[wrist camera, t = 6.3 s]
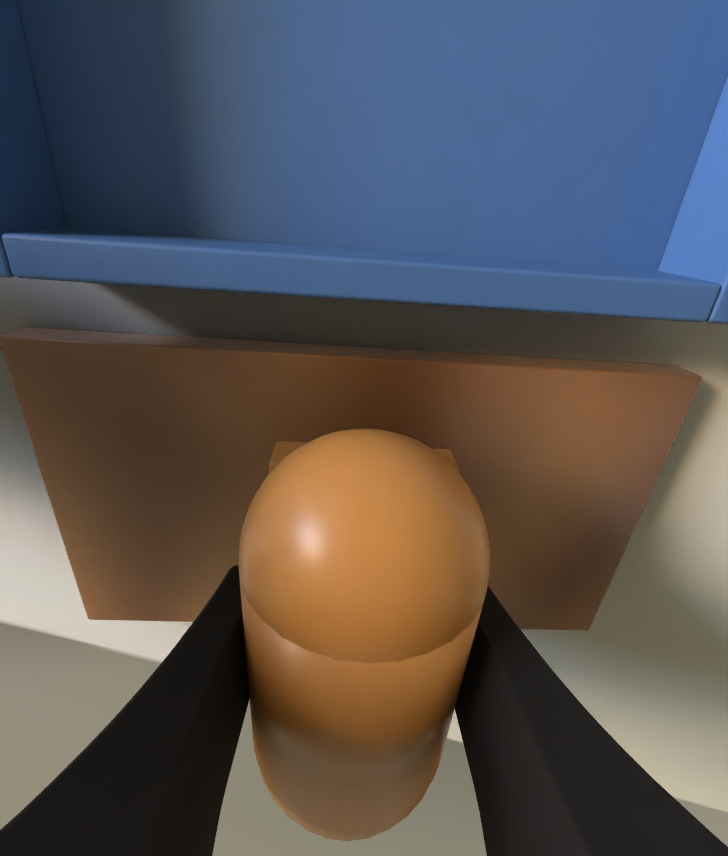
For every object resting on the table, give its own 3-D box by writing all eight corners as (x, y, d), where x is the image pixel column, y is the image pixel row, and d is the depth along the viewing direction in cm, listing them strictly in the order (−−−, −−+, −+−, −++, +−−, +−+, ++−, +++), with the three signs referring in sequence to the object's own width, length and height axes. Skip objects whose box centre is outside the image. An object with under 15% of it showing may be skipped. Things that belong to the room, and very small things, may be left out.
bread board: (102, 597, 16) (87, 620, 15) (23, 326, 11) (-5, 336, 10) (576, 608, 17) (589, 631, 16) (679, 364, 12) (705, 377, 11)
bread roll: (272, 676, 13) (238, 881, 9) (259, 384, 9) (184, 532, 5) (417, 679, 14) (446, 879, 10) (474, 397, 9) (572, 545, 5)
